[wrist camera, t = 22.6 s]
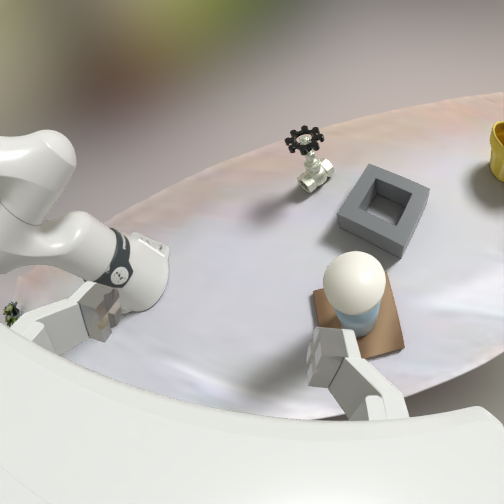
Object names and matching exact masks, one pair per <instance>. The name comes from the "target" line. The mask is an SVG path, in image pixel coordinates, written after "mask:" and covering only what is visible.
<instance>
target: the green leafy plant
mask: <svg viewBox="0 0 504 504" xmlns="http://www.w3.org/2000/svg"><path fill="white" fill-rule="evenodd" d="M16 305H17V302H15V303H14V302H12V304H10V303H9V305H8V307H5V309H4V314H5V315H6V316H5V319H6V320H5V322H7V325H9V327H11V322H12V325H13V324H14V323H15V322H16V321H17V320H18V318H17V317H19V318H20V317H21V316H20V314H19V310H18V309H17V308H16Z"/></svg>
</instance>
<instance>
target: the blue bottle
mask: <svg viewBox="0 0 504 504" xmlns="http://www.w3.org/2000/svg"><path fill="white" fill-rule="evenodd" d="M385 284H386V278H385V272H384V270H383V267H382V266H381V264H380V263H379V261H378V260H377V259H376V258H374V257H373V256H371V255H370V254H367V253H364V252H360V251H352V252H347V253H344V254H341V255H339V256H338V257H336V258H335V259H334V260H333V261H332V262H331V263H330V264H329V266H328V267H327V269H326V271H325V274H324V278H323V287H324V292H325V294H326V297H327V299H328V301H329V302H330V304H331V305H332V306H333V308H334V310H335V312H336V314H337V317H338V319H339V321H340V323H341V326H342V328H343V329H350V330H353V331H354V333H355V337H363V336H366V335H367V334H369V333H370V332H371V331H372V330H373V329H374V327H375V325H376V322H377V317H378V312H379V307H380V302H381V298H382V296H383V294H384V290H385Z"/></svg>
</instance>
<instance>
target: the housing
mask: <svg viewBox="0 0 504 504" xmlns="http://www.w3.org/2000/svg"><path fill="white" fill-rule="evenodd" d="M429 191H430V189H429V188H427V187H425V186H422V185H420V184H418V183H416V182H413V181H411V180H409V179H406V178H404V177H402V176H399V175H397V174H394V173H392V172H389V171H387V170H384V169H382V168H379V167H376V166H374V165H371V164H368V166H367V167H366V169H365V171H364V172H363V174H362V175H361V177H360V179H359V180H358V182H357V183H356V185H355V187H354V188H353V190H352V191H351V193H350V195H349V196H348V198H347V199H346V201H345V202H344V204H343V206H342V207H341V209H340V210H339V212H338V213H337V215H338V220H339V224H340V228H342V229H344V230H346V231H348V232H350V233H352V234H354V235H356V236H358V237H360V238H362V239H364V240H366V241H368V242H370V243H372V244H374V245H376V246H378V247H380V248H381V249H383V250H385V251H387V252H389V253H391V254H393V255H395V256H397V257H398V258H400V259H401V258H402V256H403V254H404V252H405V250H406V248H407V246H408V244H409V242H410V240H411V238H412V236H413V234H414V231H415V229H416V227H417V225H418V223H419V220H420V218H421V216H422V214H423V211H424V209H425V207H426V204H427V200H428V196H429ZM376 194H378V195H381V196H383V197H385V198H387V199H390V200H392V201H394V202H396V203H399V204H401V205H403V206H405V207H406V208H405V210H404V212H403V214H402V216H401V218H400V220H399V222H398V224H397V226H395V225H393V224H391V223H389V222H387V221H385V220H383V219H380V218H378V217H376V216H374V215H372V214H370V213H368V212H366V210H367V209H368V207H369V205H370V204H371V202H372V200H373V198H374V197H375V195H376Z"/></svg>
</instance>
